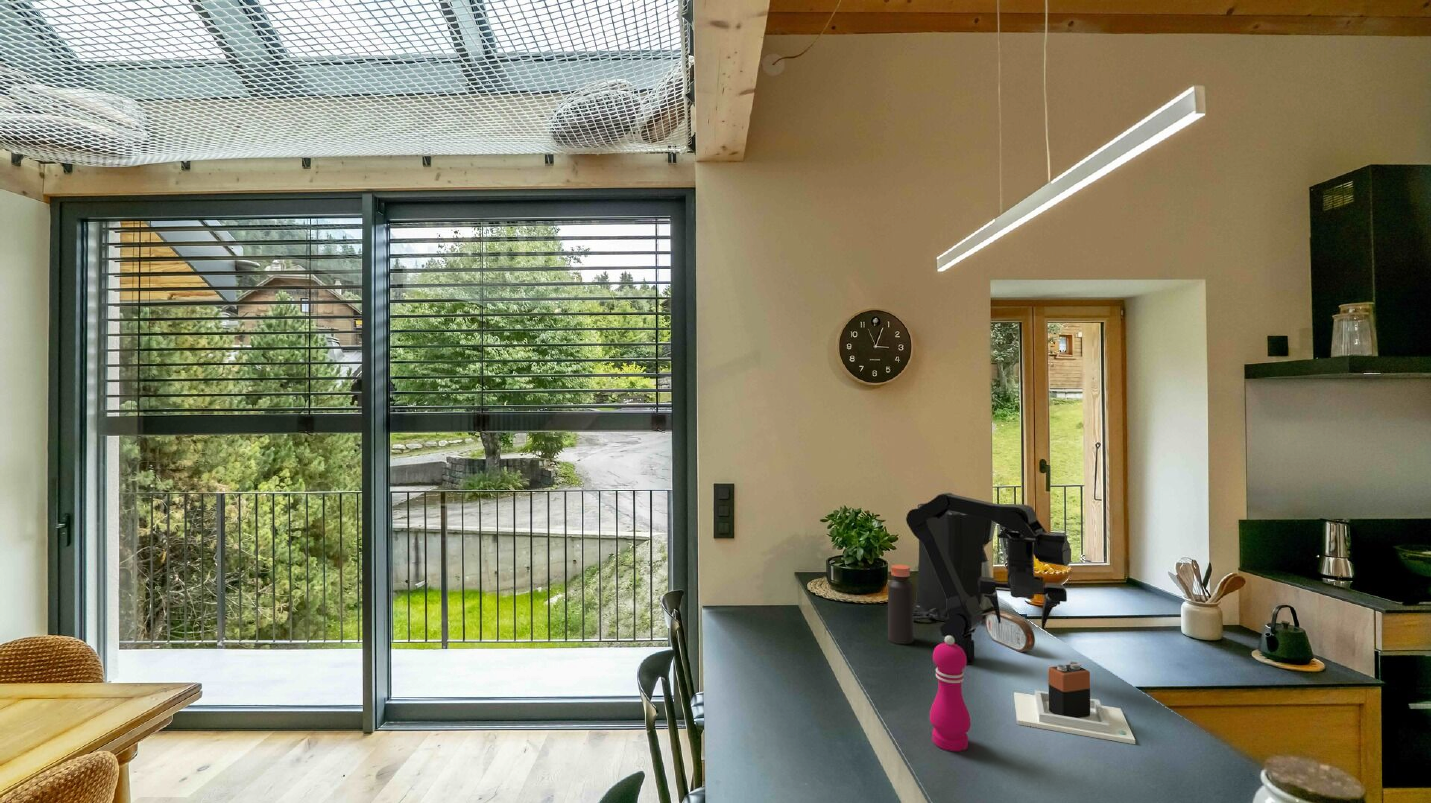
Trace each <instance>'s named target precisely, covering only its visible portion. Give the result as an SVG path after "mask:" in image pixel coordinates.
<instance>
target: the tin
mask: <svg viewBox="0 0 1431 803" xmlns="http://www.w3.org/2000/svg"><path fill="white" fill-rule="evenodd" d="M1000 617H1001V623H999V622H998V619H997V616H996V613H995V611H992V612H989V613H988V614H987V615H986V617H985V629H986V632H987V634H988V636H989V637H990V638H991V639H992V640H993V641H994V642H996V643H998V644H1000V645H1003V646H1004V645H1005V647H1007V648H1009V649H1011V650H1013V651H1015V650H1016V652H1018V651H1019V652H1018V653H1022V652H1028V651H1031V650H1032V649H1033V648H1034V647H1035V643H1036V637H1035V633H1034V630H1033V628H1032V626H1030V624H1029V622H1027V621H1026V620H1025V619H1023V618H1021V617H1019V616H1016V615H1014V614H1011V613H1008V612H1006V611H1004V610H1001V609H1000Z"/></svg>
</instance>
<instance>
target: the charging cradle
mask: <svg viewBox="0 0 1431 803" xmlns="http://www.w3.org/2000/svg"><path fill="white" fill-rule="evenodd" d="M1013 698H1014V706H1015V716H1016V723H1017V725H1019V726H1025V727H1030V726H1031V727H1030V728H1035V729H1037V728H1038V729H1042V730H1047V731H1048V730H1049V731H1055V732H1061V733H1065V734H1066V733H1067V734H1072V735H1076V736H1077V735H1079V736H1084V737H1091V738H1095V739H1102V740H1109V741H1113V742H1120V743H1125V744H1130V745H1136V739H1135V737H1134V735H1133V733H1132V731H1131V728H1130V726H1129V724H1128V722H1127V720H1126V717H1125V715H1124V713H1123V711H1122V708H1119V707H1113V706H1107V705H1102V703H1101V701H1100V699H1098V698H1097V699H1096V698H1090V716H1086V717H1080V718H1073V717H1067V716H1061V715H1055V714H1053V713H1051V712H1050V711H1049V691H1042V690H1035V689H1034V694H1027V693H1022V692H1013Z"/></svg>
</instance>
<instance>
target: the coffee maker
mask: <svg viewBox="0 0 1431 803" xmlns="http://www.w3.org/2000/svg"><path fill="white" fill-rule="evenodd" d="M926 503H927V502H926ZM926 503H919V504H918V505H917V508H920V507H921V506H923V505H925V504H926ZM939 522H940V526H941V540H942V542H943V544H944V546H945V549H946V551H947V553H948V555H949V558H950V560H951V562H952V564H953V567H954V569H955V571H956V573H957V576H958V578H959V580H960V582H961V585H962V587H963V589H964V591H965V592H966V593H967V594H968V595H969V596H970V597H973V596H976V597H977V599H978V603H979V606H980V607H981V609H982V610H983V612H981V613H982V615H983V619H984V618H986V615H987V614H988V613H989V612H992V611H995V610H994V607H993V605H992V603H991V601H990V599H989V598H988V597H984V594H982V593H978V578H980V577H990V578H992V575H991V569H990V562H989V560H988V556H987V553H986V551H985V547H986V546H987V545H989V543H990V542H991V541H993V539H994V535H995V531H996V526H997V523H995V522H994V521H991V520H989V519H985V518H981V517H976V516H972V515H968V514H964V513H959V512H955V511H951V510H948V511H947V512H946V513H945V514H944V515H943V516H942V517H940V518H939ZM917 565H918V568H917V579H916V593H915V606H914V621H915V620H917V621H918V620H919V621H920V620H930V619H933V620H937V621H941V622H947V621H948V620H949V618H948V614H947V605H946V596H945V593H944V591H943V589H942V586H941V584H940V582H939V579H938V577H937V575H936V573H935V570H934V568H933V566H932V563H931V561H930V559H929V556H928V554H927V552H926V550H925V547H924V545H923V543H922V542H921V541H920V540H919V539H918V564H917Z"/></svg>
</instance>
